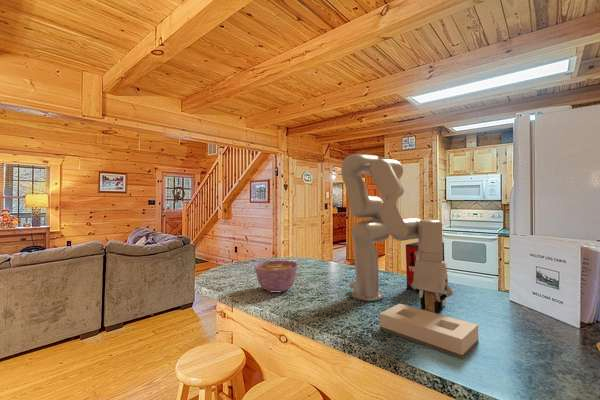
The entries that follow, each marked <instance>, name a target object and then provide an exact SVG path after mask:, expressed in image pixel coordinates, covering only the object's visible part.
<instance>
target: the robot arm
mask: <svg viewBox="0 0 600 400" xmlns="http://www.w3.org/2000/svg"><path fill="white" fill-rule="evenodd" d="M340 170H341V171H340V172H341V178H342V181H343V183H344V186H345V190H346V194H347V195H346V196H347V201H348V206H349V209H350V212H351V215H352V216H353V217H354V218H356V219H369V220H362V221H358V222H356V223H355V224H354V225H353V226H352V228H351V238H352V242H353V247H354V267H355V268H354V269H355V270H354V271H355V272H354V273H355V274H354V276H355V282H353V281H352V282H350V284H349V285H348V287H349V288H350V289H353V290H352V293H351V296H352V297H353V298H354V299H356V300H359V301H363V300H364V302H373V301H374V302H375V301H379V300H381V299H383V298H384V294H383V292H381V291H380V284H379V281H380V279H379V275H380V274H379V254H378V253H379V252H378V249H377V247H376V245H375V243H380V242H385V241H387V240H388V239H389V238H390V236H391V237H392V238H393V239H394V240H395V241H400V242H402V241H403V242H404V241H408V240H409V241H410V240H416V239H417V240H418V241H417V242H418V251H415V255H417V256H418V258H419V259H416V262H415V268H414V281H413V282H412V284H411V287H412V288H413V289H415V290H416V291H415V292H416V293H417V295H418V297H419V298H420V299H419V300H420V307H421V310H425V291H429V292H433V293H435V294H436V300H437V301H435V313H437V314H440V313H441V312H442V311H443V307H442V300H444V299H445V298H449V297H451V296H453V295H454V292H453V290H452V289H451V287H450V286H449V285H450V284H449V277H448V276H449V275H448V270H447V265H446V261H445V260H444V261H443V242H444V240H443V224H442V221H440V220H439V219H423V218H418V217H411V218H410V217H409V218H402V216H401V214H400V211H399V210H398V207H397V206H398V205H397V204H398V199H400V198H401V197H402V196H403V195H404V192H405V190H404V187H403V185H402V183H401V182H400V179H401V177H402V176H403V173H404V168H403V166H402V164H401V162H399V161H398V160H396V159H392V158H387V157H384V156H379V155H376V154H375V155H374V154H365V153H362V154H361V153H353V154H349V155H347V156H346V157H345V159H344V160H343V161H342V163H341V169H340ZM361 175H369V176H371V178H372V180H373V182H374V184H375V186H376V188H377V191H378V193H379V194H380V195H379V196H380V197H381V198H380V197H379V196H376V195H369V192H368V189H367V186H366V183H365V181H364V180H363V178H362V177H361ZM444 291H445V294H443V292H444Z"/></svg>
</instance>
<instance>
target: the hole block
mask: <svg viewBox="0 0 600 400" xmlns="http://www.w3.org/2000/svg"><path fill="white" fill-rule="evenodd" d="M379 329H380V330H381V329H382V330H381V331H383V330H384V332H386V331H387V332H386V333H389V334H392V335H395V336H398V337H400V338H403V339H406V340H409V341H410V342H411V341H412V342H414V343H417V344H419V345H422V346H425V347H427V348H430V349H434V350H435V351H436V350H437V351H438V352H442V353H444V354H446V355H447V354H448V355H450V356H453V357H456V358H459V359H461V360H464V358H465V357H466V356H467V355H468V354H469V353H470V352H471V351H472V350H473V349H474V348H475V347H476V346H477V345H478V344H479V324H477V323H473V322H469V321H465V320H462V319H458V318H454V317H452V316H451V317H450V316H448V315H443V314H440V313H438V314H436V313H433V312H429V311H425V309H424V310H422V308H421V309H420V308H417V307H414V306H413V307H412V306H411V305H407V304H402V303H398V304H396V305H394V306H392V307H390V308H388V309H386V310H384V311H382V312H380V313H379Z"/></svg>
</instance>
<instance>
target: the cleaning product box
mask: <svg viewBox="0 0 600 400" xmlns="http://www.w3.org/2000/svg"><path fill="white" fill-rule="evenodd" d="M415 251H418V241H416V242H411V243H407V244H405V263H406V264H405V265H406V269H405V270H406V289H407V290H409V291H413V292H416V290H415V289H413V288H412V287H411V284H412V282H413V281H414V268H415V262H416V259H419V258H418V256H417V255H415ZM443 261H444V262H445V242H444V241H443Z"/></svg>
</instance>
